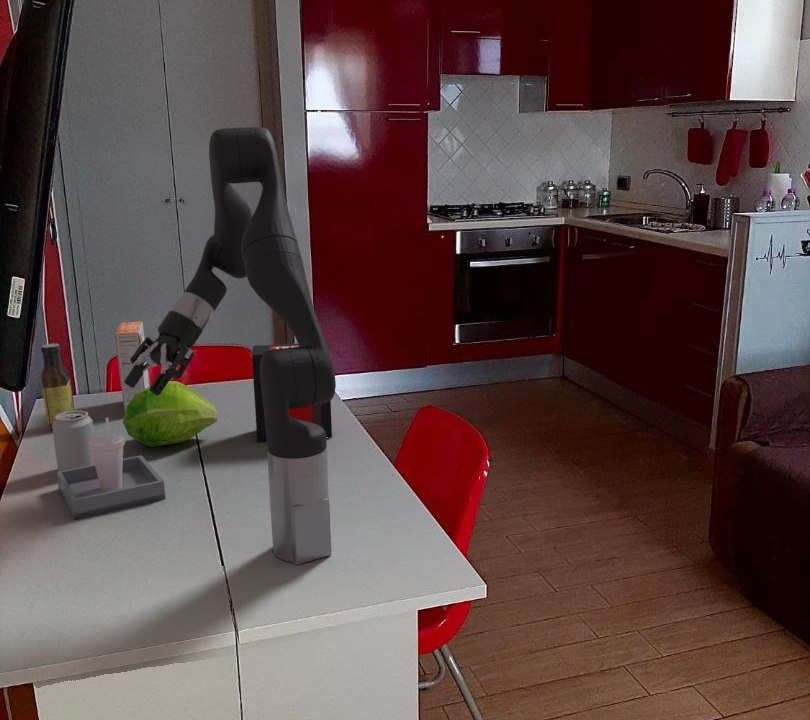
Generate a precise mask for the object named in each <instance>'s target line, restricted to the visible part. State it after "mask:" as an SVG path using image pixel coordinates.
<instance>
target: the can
mask: <svg viewBox="0 0 810 720" xmlns="http://www.w3.org/2000/svg"><path fill="white" fill-rule="evenodd" d="M55 419H56V420H55V421H54V423H53V424H52V428H53V430H52V434H53V443H54V450H55V458H56V467H57V470H58V471H57V472H59V471H64V470H69V469H74V468H79V467H84V466H89V465H94V464H95V463H94V459H93V456H92V451H91V449H90V448H89V443H88V442H89V441H90V440H91V439H92V438H95V433H94V432H95V431H94V423H93V422H94V421H93V419H92V418H91V417H90V416H89V413H88V412H87V411H85V410H75V411H68V412H63V413H60V414H58V415H56V416H55Z"/></svg>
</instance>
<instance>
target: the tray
mask: <svg viewBox="0 0 810 720" xmlns="http://www.w3.org/2000/svg"><path fill="white" fill-rule="evenodd" d="M56 479H57V487H58V490H59V493H60V494H61V497H62V498H63V500H64V502H65V505H66V506H67V509H68V510H69V512H70V514H71V516H72V518H73V519H74V520H79V519H83V518H87V517H92V516H96V515H100V514H105V513H108V512H115V511H118V509H119V510H122V508H123V509H127V508H131V506H132V507H135V505H136V506H140V504H141V505H144V504H149V503H153V501H154V502H157V500H158V501H162V500H166V491H165V490H166V489H165V488H166V487H165V481H164V480H163V478H162V477H161V476H160V475H159V474H158V472H157V471H156V470H155V469H154V468H153V467H152V465H151V464H150V463H149V462H148V461H147V460H146V458H145V457H144V456H143V455H142V454H141V455H135V456H130V457H126V458H123V466H122V488H121V489H118V490H113V491H108V492H103V491H101V487H100V483H99V479H98V475H97V471H96V467H95V464H94V465H89V466H84V467H79V468H74V469H69V470H64V471H56ZM126 507H127V508H126Z"/></svg>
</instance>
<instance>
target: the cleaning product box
mask: <svg viewBox="0 0 810 720" xmlns="http://www.w3.org/2000/svg"><path fill="white" fill-rule="evenodd" d="M327 343H328V342H326V345H327V348H328V351H329V347H328V344H327ZM291 347H299V344H298V343H286V344H285V343H284V344H282V343H281V344H267V345H266V344H263V345H259V344H258V345H253V346H252V350H251V351H252V353H251V363H252V375H253V378H252V379H253V392H254V393H253V395H254V410H255V413H254V414H255V424H256V425H255V427H256V440H257V441H256V443H257V444H259V443H267V439H266V430H265V417H264V406H263V398H262V390H261V381H260V362H261V358H262V355H263V354H264V353H265V352H266V351H268V350H273V349H281V348H291ZM329 352H330V351H329ZM331 402H332V400H331V401H329V402H327V403H323V404H318V405H310V406H304V407H297V408H290V409H289V410H288V413H289V416H290V417H292V418H294V419H297V420H301V421H306V422H310V423H314V424H317V425H319V426H321V427H322V428H323V429H324V430H325V433H326V437H332V438H333V430H332V429H333V428H332V425H333V424H332V423H333V422H332V403H331Z"/></svg>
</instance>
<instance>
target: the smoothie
mask: <svg viewBox="0 0 810 720" xmlns="http://www.w3.org/2000/svg"><path fill="white" fill-rule="evenodd" d="M109 418H110V417H108V416H107V417H105V426H106V427H105V428H106V434H103V435H98V436H96V437H95V436H94V438H92V439H91V440H90V441H89V442H88V443H89V448H90V449H91V451H92V456H93V459H94V463H95V467H96V471H97V475H98V479H99V483H100V487H101V491H103V492H108V491H113V490H118V489H121V488H122V466H123V459H124V445H125V444H126V441H125V437H124V436H123V435H120V434H113V433H112V434H111V428H110V420H109Z"/></svg>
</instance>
